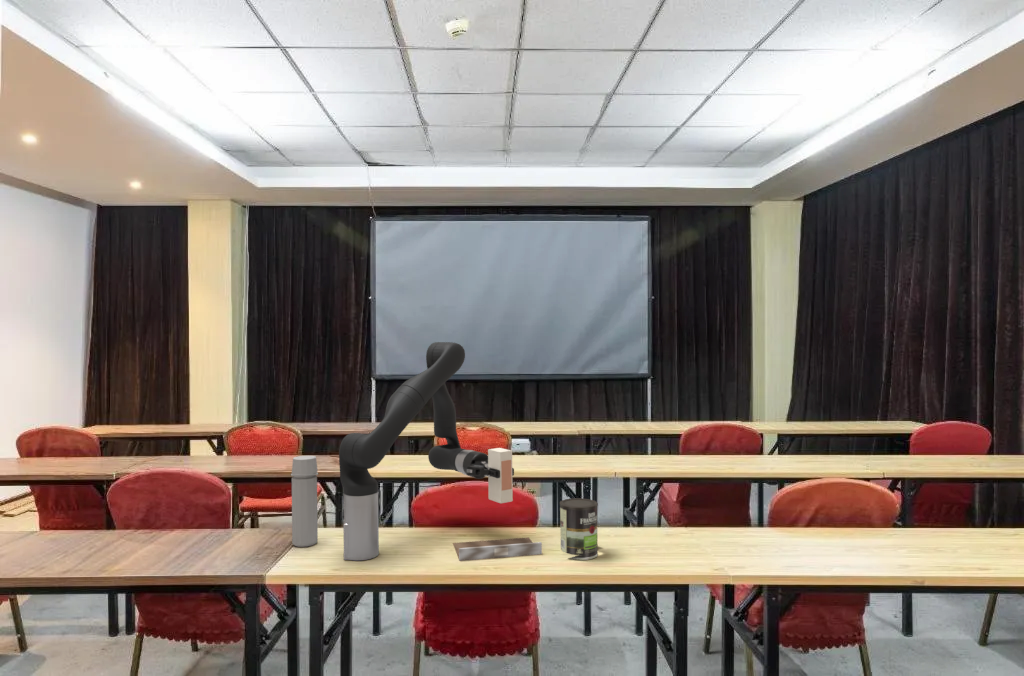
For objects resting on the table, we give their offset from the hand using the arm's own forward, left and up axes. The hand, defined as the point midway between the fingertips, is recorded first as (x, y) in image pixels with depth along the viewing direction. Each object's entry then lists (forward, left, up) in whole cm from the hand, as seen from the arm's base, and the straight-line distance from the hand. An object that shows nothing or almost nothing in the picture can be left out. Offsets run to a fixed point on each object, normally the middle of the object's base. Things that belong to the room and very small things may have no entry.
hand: (505, 473), depth 179 cm
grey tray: (-3, 0, -22) cm, 22 cm away
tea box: (-1, +3, -8) cm, 8 cm away
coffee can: (+19, -6, -22) cm, 30 cm away
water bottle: (-55, +22, -22) cm, 63 cm away
